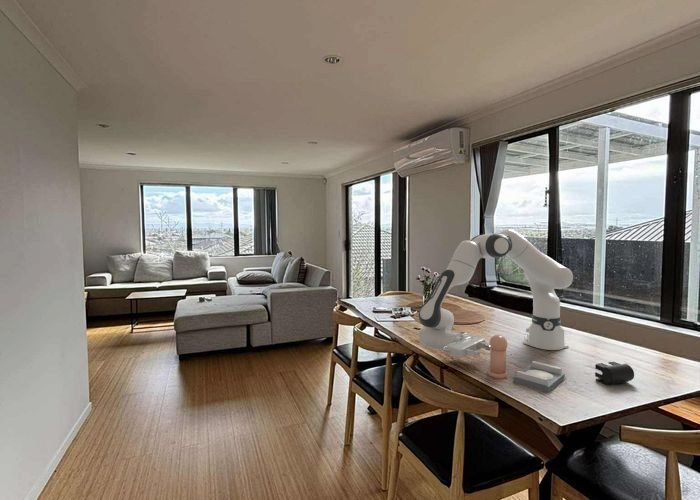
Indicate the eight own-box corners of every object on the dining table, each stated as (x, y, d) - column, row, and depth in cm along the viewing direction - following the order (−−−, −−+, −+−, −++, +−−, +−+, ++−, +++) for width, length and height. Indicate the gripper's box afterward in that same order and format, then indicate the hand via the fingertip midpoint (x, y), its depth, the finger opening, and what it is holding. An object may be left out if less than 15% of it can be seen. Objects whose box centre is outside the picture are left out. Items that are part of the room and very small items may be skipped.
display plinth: (530, 369, 145) (530, 359, 145) (564, 378, 136) (564, 368, 136) (513, 382, 134) (513, 371, 134) (548, 392, 125) (549, 381, 125)
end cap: (611, 388, 128) (612, 369, 128) (593, 380, 135) (594, 362, 135) (634, 385, 131) (635, 366, 130) (615, 377, 137) (616, 359, 137)
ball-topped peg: (487, 370, 145) (488, 331, 144) (507, 372, 143) (507, 333, 142) (488, 377, 139) (488, 337, 138) (508, 379, 136) (509, 338, 135)
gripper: (439, 341, 147) (471, 349, 137) (465, 330, 161) (496, 337, 151) (439, 356, 148) (471, 366, 137) (465, 345, 161) (496, 352, 151)
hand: (484, 351), depth 144 cm, fingers open, 8 cm apart
